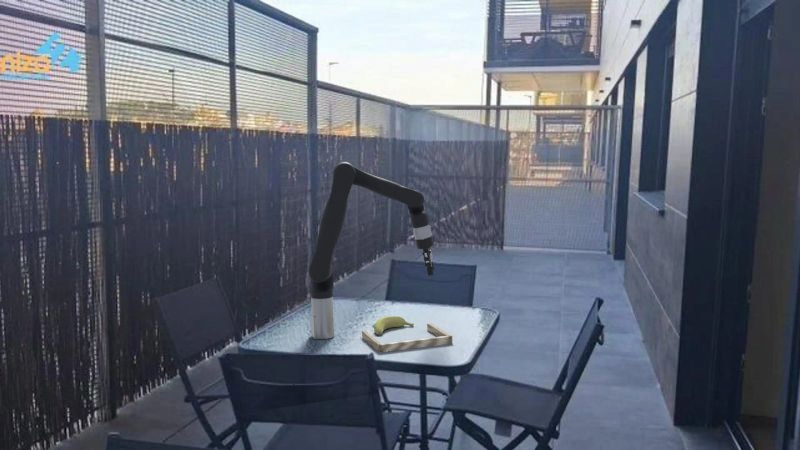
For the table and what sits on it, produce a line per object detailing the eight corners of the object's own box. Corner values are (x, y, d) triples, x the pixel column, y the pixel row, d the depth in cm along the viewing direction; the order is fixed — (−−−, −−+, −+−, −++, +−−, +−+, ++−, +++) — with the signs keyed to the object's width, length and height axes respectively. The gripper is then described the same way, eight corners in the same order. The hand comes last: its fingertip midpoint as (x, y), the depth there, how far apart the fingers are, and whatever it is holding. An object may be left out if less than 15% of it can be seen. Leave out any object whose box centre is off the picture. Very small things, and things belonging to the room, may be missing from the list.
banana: (369, 313, 305) (410, 313, 313) (366, 324, 306) (408, 324, 314) (379, 328, 293) (421, 328, 301) (376, 339, 294) (419, 339, 302)
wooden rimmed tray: (379, 352, 270) (379, 345, 269) (362, 337, 292) (361, 330, 291) (452, 343, 280) (452, 336, 280) (430, 329, 302) (430, 323, 302)
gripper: (415, 235, 301) (423, 270, 304) (413, 241, 287) (422, 278, 290) (432, 231, 301) (440, 267, 303) (431, 237, 287) (439, 275, 289)
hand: (431, 272), depth 296 cm, fingers open, 8 cm apart
